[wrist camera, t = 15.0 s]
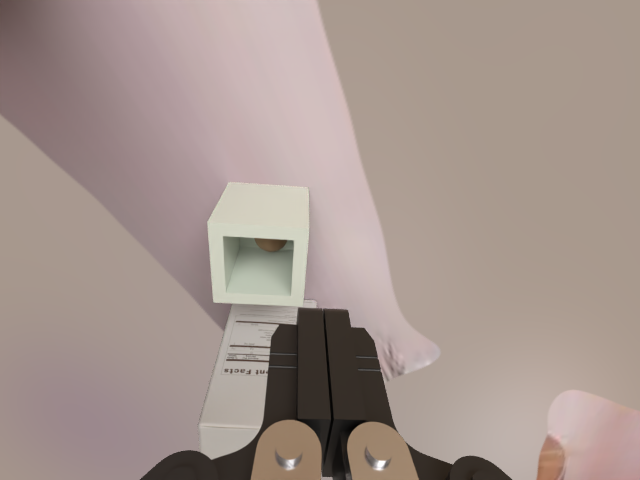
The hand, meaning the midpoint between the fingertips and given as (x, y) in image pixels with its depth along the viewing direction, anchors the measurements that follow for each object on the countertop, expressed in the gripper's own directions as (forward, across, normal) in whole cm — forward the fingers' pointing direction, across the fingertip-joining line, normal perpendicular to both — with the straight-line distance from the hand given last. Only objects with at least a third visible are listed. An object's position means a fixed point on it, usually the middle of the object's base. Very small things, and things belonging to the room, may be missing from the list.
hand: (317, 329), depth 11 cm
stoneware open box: (+22, +3, +8) cm, 23 cm away
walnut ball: (+21, +3, +8) cm, 22 cm away
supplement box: (+22, +2, +21) cm, 30 cm away
